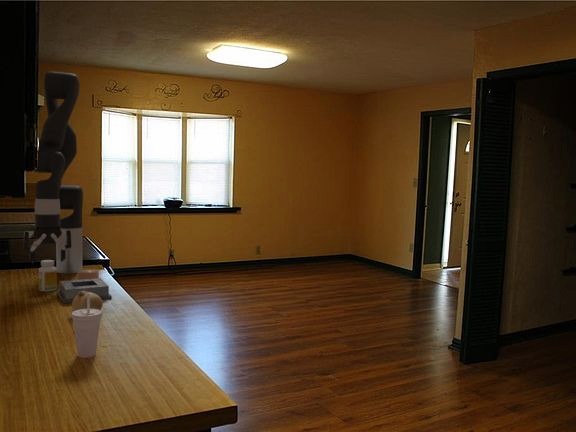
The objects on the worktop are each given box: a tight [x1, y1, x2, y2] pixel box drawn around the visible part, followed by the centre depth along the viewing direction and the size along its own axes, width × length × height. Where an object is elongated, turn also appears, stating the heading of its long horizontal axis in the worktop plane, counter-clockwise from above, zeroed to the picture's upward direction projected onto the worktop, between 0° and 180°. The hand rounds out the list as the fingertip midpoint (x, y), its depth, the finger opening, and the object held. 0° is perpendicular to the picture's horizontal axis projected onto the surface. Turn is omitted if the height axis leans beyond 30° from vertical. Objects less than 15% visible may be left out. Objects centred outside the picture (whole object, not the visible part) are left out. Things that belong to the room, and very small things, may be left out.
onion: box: [71, 291, 104, 312], centre depth 146 cm, size 8×8×7 cm
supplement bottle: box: [38, 259, 58, 292], centre depth 173 cm, size 5×5×10 cm
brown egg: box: [76, 268, 100, 280], centre depth 182 cm, size 7×7×5 cm
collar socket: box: [56, 277, 113, 305], centre depth 167 cm, size 14×14×4 cm
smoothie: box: [71, 293, 103, 359], centre depth 116 cm, size 6×6×14 cm
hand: (47, 261), depth 172 cm, fingers open, 8 cm apart
